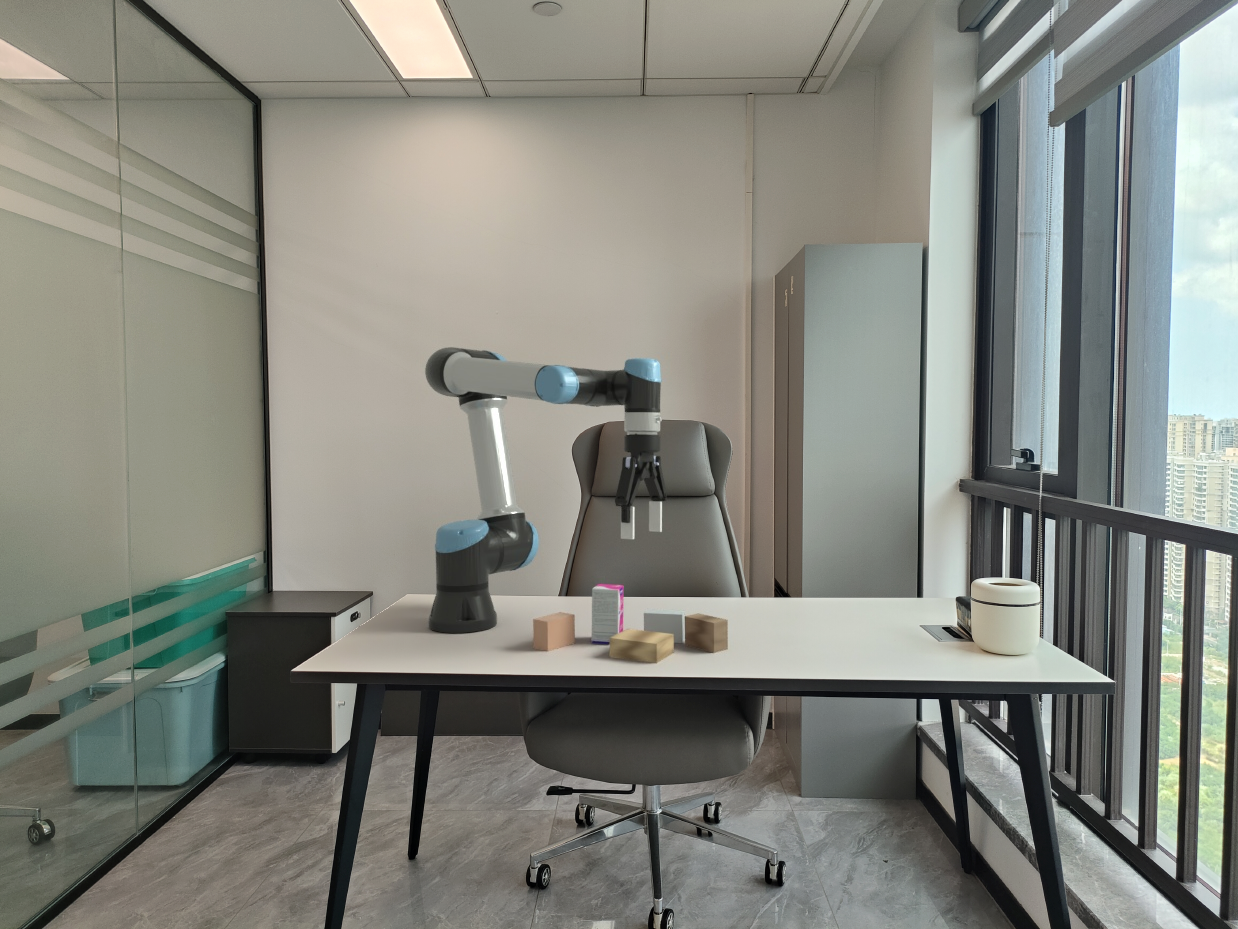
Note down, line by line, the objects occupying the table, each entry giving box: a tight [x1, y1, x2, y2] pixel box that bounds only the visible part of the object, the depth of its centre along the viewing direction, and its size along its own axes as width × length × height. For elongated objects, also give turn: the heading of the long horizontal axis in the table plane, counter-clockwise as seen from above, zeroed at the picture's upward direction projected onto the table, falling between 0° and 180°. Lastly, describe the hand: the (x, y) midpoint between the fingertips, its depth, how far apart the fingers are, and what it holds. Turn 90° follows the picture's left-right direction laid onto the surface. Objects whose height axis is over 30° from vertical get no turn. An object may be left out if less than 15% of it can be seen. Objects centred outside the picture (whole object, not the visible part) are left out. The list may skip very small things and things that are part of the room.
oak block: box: [608, 628, 675, 664], centre depth 152 cm, size 10×8×4 cm
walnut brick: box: [684, 613, 729, 654], centre depth 157 cm, size 8×4×6 cm, turn 41°
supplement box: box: [590, 583, 625, 646], centre depth 162 cm, size 6×6×12 cm
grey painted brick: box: [643, 608, 686, 644], centre depth 163 cm, size 8×4×6 cm, turn 78°
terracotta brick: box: [532, 611, 576, 652], centre depth 159 cm, size 8×4×6 cm, turn 141°
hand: (641, 535), depth 163 cm, fingers open, 13 cm apart
